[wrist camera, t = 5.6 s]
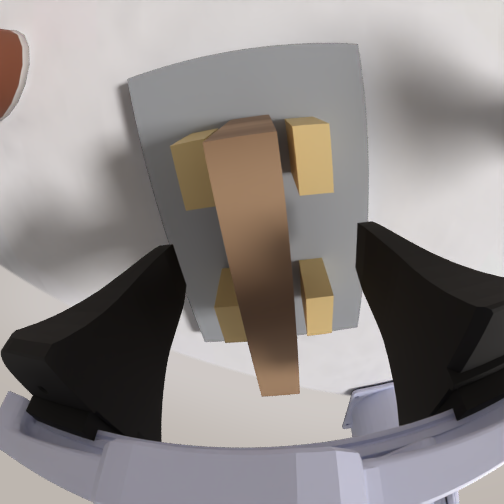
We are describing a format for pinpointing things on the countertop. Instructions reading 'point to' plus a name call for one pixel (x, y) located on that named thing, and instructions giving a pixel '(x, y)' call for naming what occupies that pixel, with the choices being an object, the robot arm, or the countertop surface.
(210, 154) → the door panel
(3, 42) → the coffee cup
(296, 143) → the hinge board
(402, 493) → the robot arm
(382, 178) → the countertop surface
